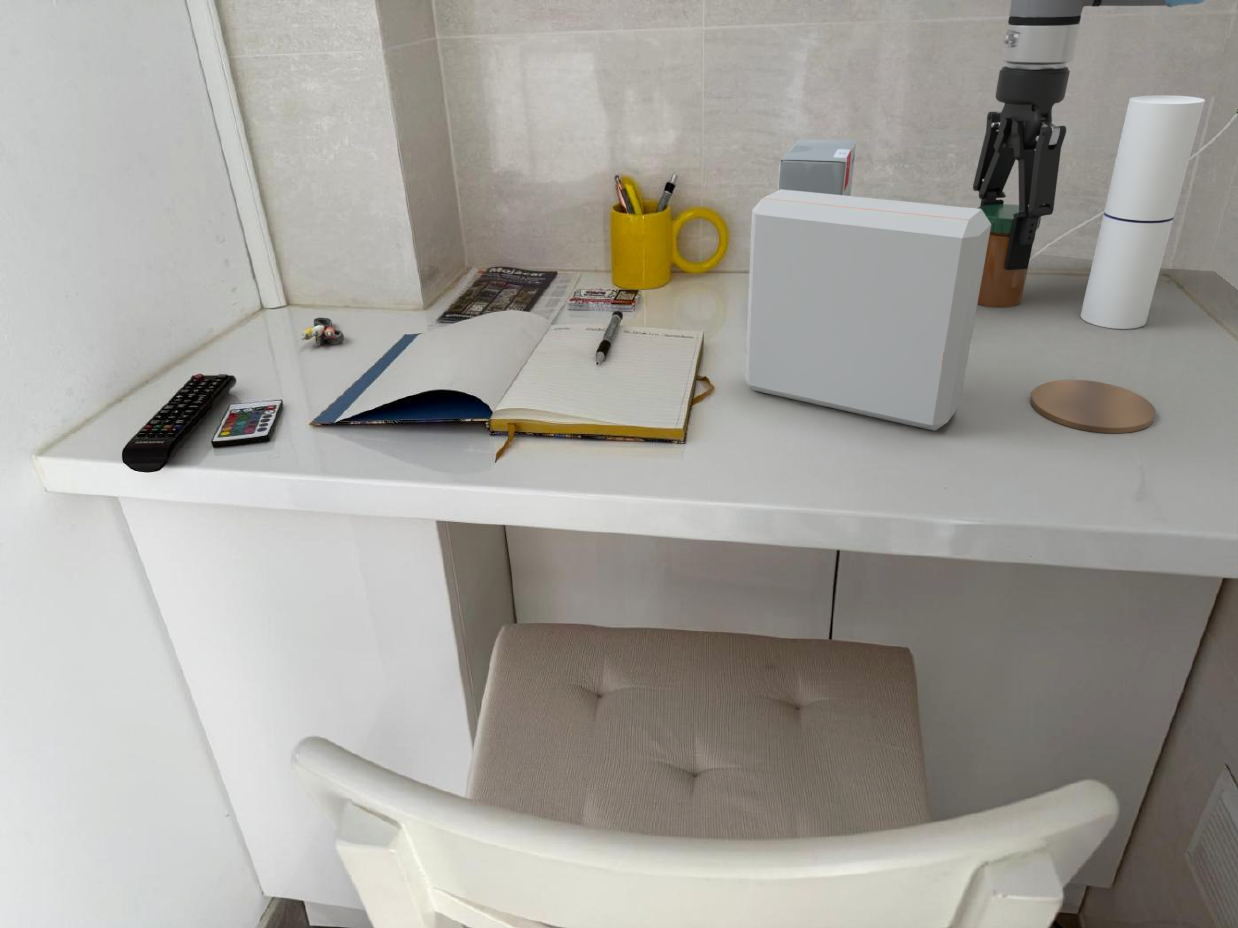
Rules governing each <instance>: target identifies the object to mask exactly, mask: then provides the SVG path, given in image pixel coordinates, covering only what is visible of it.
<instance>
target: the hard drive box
mask: <svg viewBox="0 0 1238 928" xmlns="http://www.w3.org/2000/svg"><path fill="white" fill-rule="evenodd" d="M856 147H857V140H855V139H831V138H830V139H827V138H798V139H797V140H796V141H795V142H794V143H793V145H792V146H791V147H790V148H789V149H788V151H787V152H786V153H785V154H784V155H783V156H782V158H781V159H780V160H779V169H778V185H777V191H778V190H780V189H783V190H793V191H803V192H813V193H823V194H834V195H844V196H852V186H853V185H852V184H853V177H854V166H855V157H856V149H857V148H856Z"/></svg>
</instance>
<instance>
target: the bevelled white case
mask: <svg viewBox="0 0 1238 928" xmlns="http://www.w3.org/2000/svg"><path fill="white" fill-rule="evenodd" d="M990 229H991V223H990V222H989V220H988V218H987V217H986V215H985V214H984V212H983V211H982V209H977V207H976V208H975V207H965V206H957V205H956V206H954V205H947V204H945V205H944V204H935V203H924V202H915V201H904V200H893V199H886V198H885V199H883V198H874V197H863V196H853V195H851V196H844V195H834V194H823V193H813V192H803V191H793V190H783V189H780V190H778V189H777V191H774V192H772V193H771V194H768V195H766V196H764V197H762V198H761V199H760V200H759V201H758V202H757V203H756V204H755V206H754V207H753V208H752V209H751V227H750V252H749V271H748V272H749V277H748V300H747V301H748V302H747V321H746V324H747V325H746V348H745V372H744V379H745V381H746V383H747V385H748V387H750V389H752V391H754V392H759V393H763V394H767V395H771V396H772V395H773V396H777V397H781V398H786V399H791V400H794V401H799V402H803V403H808V404H812V405H817V406H822V407H826V408H830V409H834V410H838V411H844V412H848V413H851V414H852V413H853V414H857V415H861V416H866V417H870V418H875V419H878V420H884V421H888V422H893V423H897V424H901V425H906V426H911V427H915V428H920V429H924V430H929V431H933V432H936V431H937V430H938V429H940V428H941V427H943V426H944V425H946V424H948V422H950V420H951V419H952V417H953V416H954V414H955V413H956V411H957V410H958V408H959V407H960V405H961V399H962V394H963V388H964V382H965V377H966V371H967V365H968V360H969V354H970V347H971V344H972V343H971V342H972V337H973V331H974V327H975V326H974V325H975V321H976V315H977V314H976V313H977V308H978V304H977V303H978V297H979V291H980V286H981V280H982V274H983V269H984V263H985V257H986V252H987V246H988V240H989V234H990Z"/></svg>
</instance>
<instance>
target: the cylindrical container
mask: <svg viewBox="0 0 1238 928" xmlns="http://www.w3.org/2000/svg"><path fill="white" fill-rule="evenodd" d="M1205 102H1206V100H1205V98H1202V97H1196V96H1188V95H1174V94H1173V95H1172V94H1171V95H1170V94H1158V95H1157V94H1156V95H1155V94H1151V95H1150V94H1149V95H1138V96H1132V97H1130V98H1129V100H1128V104H1127V109H1126V113H1125V117H1124V122H1123V126H1122V130H1121V135H1120V139H1119V144H1118V147H1117V153H1116V157H1115V161H1114V165H1113V170H1112V175H1111V179H1110V184H1109V188H1108V191H1107V195H1106V196H1107V197H1106V201H1105V205H1104V208H1103V209H1104V210H1103V214H1102V218H1101V224H1100V228H1099V231H1098V237H1097V241H1096V245H1095V250H1094V255H1093V259H1092V263H1091V266H1090V272H1089V275H1088V281H1087V284H1086V289H1085V294H1084V298H1083V303H1082V307H1081V311H1080V318H1081V319H1082V320H1083V321H1085V322H1087V323H1088V324H1091V325H1094V326H1097V327H1103V328H1108V329H1117V330H1131V329H1137V328H1141V327H1143V326H1145V325H1146V323H1147V321H1148V317H1149V313H1150V309H1151V306H1152V303H1153V298H1154V294H1155V290H1156V287H1157V282H1158V279H1159V275H1160V271H1161V267H1162V264H1163V259H1164V257H1165V252H1166V249H1167V246H1168V245H1167V244H1168V243H1169V239H1170V238H1169V237H1170V234H1171V230H1172V226H1173V224H1174V219H1175V218H1174V217H1175V215H1176V212H1177V208H1178V203H1179V200H1180V197H1181V192H1182V189H1183V186H1184V185H1183V184H1184V181H1185V177H1186V173H1187V170H1188V166H1189V162H1190V159H1191V154H1192V151H1193V147H1194V143H1195V140H1196V137H1197V132H1198V129H1199V125H1200V121H1201V117H1202V113H1203V110H1204V106H1205Z"/></svg>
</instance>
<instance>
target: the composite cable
mask: <svg viewBox="0 0 1238 928" xmlns="http://www.w3.org/2000/svg"><path fill="white" fill-rule="evenodd" d="M313 337H314V338H315V339H314V340H315V344H316V346H318V347H319V346H321V345H323V344H325V343H326V341H327V343H328V344H331V345H332V344H333V345H335V344H339V343H341V342H342V341H344V340H345V335H344V333H343V331H342V330H340V329H336V328H334V327H333V321H332V319H330V318H329V317H316V318H314V319H313V327H309V328H307V329H306V330H304V331H303V332H302V334H301V337H300V339H301V341H309V340H312V338H313Z"/></svg>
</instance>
